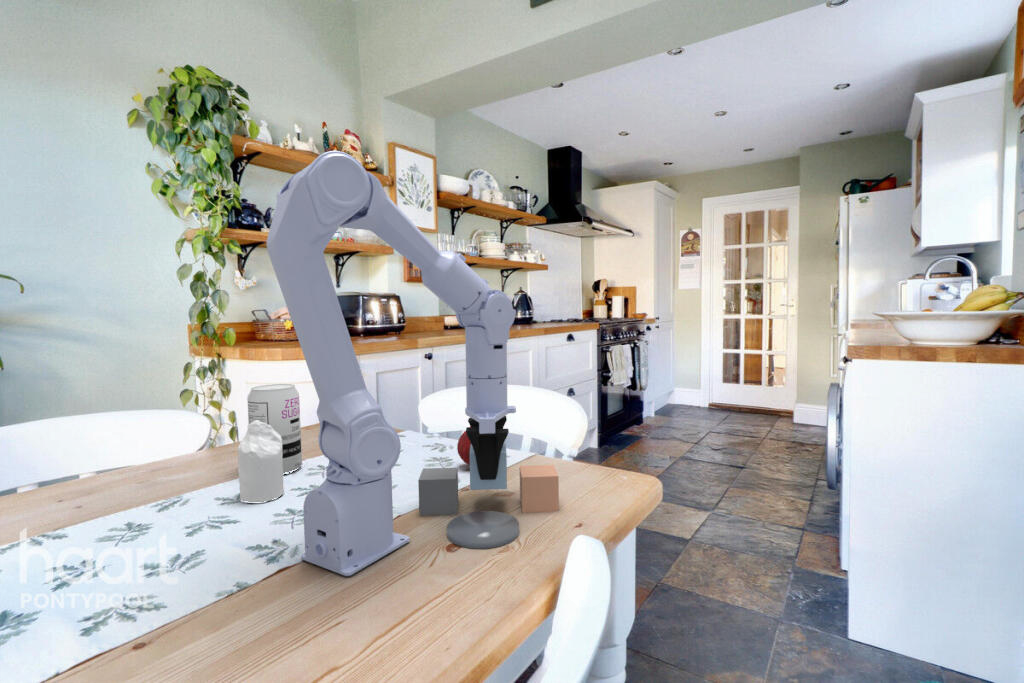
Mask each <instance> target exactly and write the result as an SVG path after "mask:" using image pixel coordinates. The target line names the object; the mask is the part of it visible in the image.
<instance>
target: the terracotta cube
mask: <svg viewBox="0 0 1024 683" xmlns="http://www.w3.org/2000/svg"><path fill="white" fill-rule="evenodd" d="M559 485H560V484H559V474H558V472H557V469H556V467H555V465H554V464H544V465H542V464H540V465H538V464H537V465H519V499H520V505H521V511H522V513H524V514H525V513H548V512H549V513H551V512H554V511H555V512H559V511H560V505H559V504H560V503H559V502H560V501H559V500H560V499H559V498H560V496H559Z"/></svg>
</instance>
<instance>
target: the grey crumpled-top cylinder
mask: <svg viewBox="0 0 1024 683" xmlns="http://www.w3.org/2000/svg"><path fill="white" fill-rule="evenodd" d="M282 456H283V453H282V439H281V436H280V435H279V434H278V433H277V432H276V431H274V429H273V428H272V427H271V426H270V425H267V424H266V423H263V422H260V421H258V420H256V421H253V422H252V423H250V424H249V423H248V425H247V431H246V432H245V435H244V436H243V438H242V439H241V441H240V442H239V445H238V448H237V461H238V462H237V464H238V482H239V495H240V496H239V498H240V501H241V500H243V501H249V502H264V501H268V500H272V499H274V498H277V497H279V496H281V495H282V494H283V493H284V494H285V490H284V489H285V488H284V475H283V463H282V460H283V459H282ZM284 494H283V495H284ZM283 495H282V496H283ZM282 496H281V497H282Z"/></svg>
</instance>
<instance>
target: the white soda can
mask: <svg viewBox="0 0 1024 683" xmlns="http://www.w3.org/2000/svg"><path fill="white" fill-rule="evenodd" d="M246 399H247V412H248V413H247V416H248V418H247V419H248V425H249V424H250V423H252V422H253V421H256V420H258V421H260V422H263V423H266V424H267V425H270V426H271V427H272V428H273V429H274V431H276V432H277V433H278V434H279V435H280V436H281V439H282V453H283V456H282V459H283V460H282V463H283V473H285V472H289V471H292V470H295V469H297V468H299V469H300V467H301V466H302V465H303V450H302V433H301V431H302V428H301V409H300V408H301V406H300V393H299V391H298V390H297V388H296V386H295V384H292V383H275V384H265V385H263V384H262V385H257V386H253V387H251V389H250V392H249V393H248V396H247V398H246Z"/></svg>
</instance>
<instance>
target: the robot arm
mask: <svg viewBox="0 0 1024 683" xmlns="http://www.w3.org/2000/svg"><path fill="white" fill-rule="evenodd" d="M339 228H344V229H354V230H363V231H364V230H365V231H369V232H372V233H373V234H375V235H376V236H377V237H378V238H380V239H381V240H382V241H383V242H384V243H386V245H388V246H390V247H391V248H392V249H394V251H396V252H397V253H399V255H401V256H402V257H404V258H405V259H406V260H407V261H409V262H410V263H411V264H413V265H414V266H415V267H416V268H417V269H418V270H420V271H421V281H422V284H423V286H424V287H425V288H427V289H428V290H429V291H430V292H432V293H433V295H435V297H437V298H439V300H440V301H441V302H443V303H444V304H445V305H446V306H448V307H449V308H450V309H451V310H453V312H454V313H455V318H456V321H457V322H458V323H457V324H459V326H460V327H462V328H464V331H465V334H464V336H465V386H466V387H465V388H466V389H465V390H466V393H465V394H466V396H465V397H466V400H465V401H466V407H465V409H464V410H465V411H464V413H465V415H466V416H467V417H468V419H467V422H468V424H469V427H468V426H467V427H466V428H465V431H466V434H467V437H468V439H469V440H470V442H471V444H472V447H473V450H474V453H475V457H476V462H477V467H478V472H479V476H480V479H481V480H495V479H496V476H497V472H498V466H499V459H500V454H501V450H502V447H503V444H504V443H505V442H506V439H507V437H508V435H509V431H510V430H509V428H504V427H505V425H506V423H507V422H508V421H507V420H508V419H507V415H509V414H516V412H517V407H516V406H515V405H508V353H507V352H508V350H507V348H508V347H507V346H508V340H510V329H511V327H512V325H513V324H514V321H515V319H516V314H517V312H516V309H514V307H513V303H512V301H511V299H510V298H509V297H508V295H507V294H506V293H505V292H503V291H502V290H500V289H492V288H491V286H490V285H489V284H490V283H489V281H488V280H487V279H486V278H482V277H480V275H479V274H477V272H476V271H474V270H473V268H471V267H470V266H469V265H468V264H467V263H466V261H467V258H466V257H465V256H464V255H463V254H462V253H461V252H459V253H455V252H454V251H452V250H441V251H440V250H439V248H437V247H436V245H434V244H433V243H432V241H431V240H430V239H429V238H428V237H427V236H426V235H425V234H424V233H423V232H422V230H420V229H419V228H418V227H417V226H416V224H415V223H414V222H413V221H412V220H411V219H410V218H409V217H408V216H407V215H406V213H404V211H402V209H400V208H399V207H398V205H397V204H396V203H395V202H394V201H393V200H392V199H391V197H390V196H389V195H388V194H387V192H386V190H385V189H384V186H383V185H382V183H381V181H380V179H379V178H378V177H376V176H375V175H374V174H372V173H371V172H369V171H368V172H367V170H366V168H365V167H364V166H363V165H362V163H361V162H360V161H359V160H358V159H356V158H355V157H354V156H352V155H351V154H348V153H346V152H344V151H338V150H330V151H326V152H323V153H321V154H320V155H318V156H317V157H316V158H315V159H314V160H313V161H312V162H311V163H310V164H308V166H306V167H305V168H303V169H302V170H300V171H297V172H296V173H294V174H293V175H291V177H290V178H288V180H287V181H286V182H285V183H284V184H283V186H282V187H281V188H280V189H279V191H278V192H277V193H276V205H275V208H274V213H273V217H272V220H271V224H270V227H269V231H268V235H267V238H266V249H267V253H268V256H269V259H270V262H271V265H272V267H273V270H274V274H275V276H276V279H277V282H278V285H279V288H280V291H281V293H282V296H283V300H284V302H285V305H286V308H287V312H288V314H289V316H290V319H291V322H292V326H293V328H294V331H295V334H296V337H297V340H298V343H299V345H300V348H301V351H302V353H303V357H304V360H305V364H306V366H307V369H308V371H309V374H310V378H311V380H312V383H313V386H314V389H315V392H316V394H317V398H318V401H319V402H318V405H317V409H316V415H317V417H318V422H319V432H318V440H317V442H318V447H319V449H320V452H321V453H322V454H323V456H324V457H325V458H326V459H328V465H327V467H326V478H325V479H324V481H323V482H322V483H321V484H320V485H319V486H317V487H316V488H314V489H312V490H310V492H308V493H307V495H306V496H305V499H304V502H303V530H304V552H303V553H301V555H300V559H301V560H303V561H305V562H308V563H310V564H313V565H316V566H319V567H322V568H324V569H326V570H329V571H331V572H334V573H336V574H340V575H342V576H344V577H351V576H352V575H354V574H355V573H357V572H359V571H361V570H363V569H365V568H366V567H368V566H369V565H371V564H373V563H375V562H376V561H378V560H379V559H381V558H384V557H385V556H387V555H388V554H390V553H392V552H393V551H396V550H397V549H398V548H400V547H402V546H403V545H405V544H407V543H409V542H410V536H407V535H405V534H401V533H398V532H394V510H393V508H394V507H393V483H392V482H393V480H392V479H393V477H392V469H393V468H394V466H395V465H396V464H397V462H398V460H399V458H400V453H401V448H402V445H401V439H400V436H399V434H398V432H397V431H396V430H395V428H394V427H393V426H392V425H390V423H389V422H387V420H386V418H385V415H384V412H383V410H382V407H381V406H380V404H379V403H378V402H377V401H376V399H375V398H374V397H373V395H372V393H370V392H369V390H368V389H367V386H366V382H365V380H364V376H363V373H362V370H361V367H360V364H359V360H358V357H357V355H356V354H357V353H356V351H355V349H354V345H353V342H352V339H351V335H350V332H349V329H348V327H347V323H346V320H345V317H344V314H343V310H342V306H341V304H340V302H339V298H338V295H337V292H336V289H335V286H334V283H333V280H332V277H331V273H330V271H329V267H328V263H327V261H326V257H325V254H324V252H325V249H326V247H327V246H328V245H329V243H330V242H331V240H332V239H333V238H334V235H336V233H337V232H338V230H339ZM470 426H471V427H470Z"/></svg>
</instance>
